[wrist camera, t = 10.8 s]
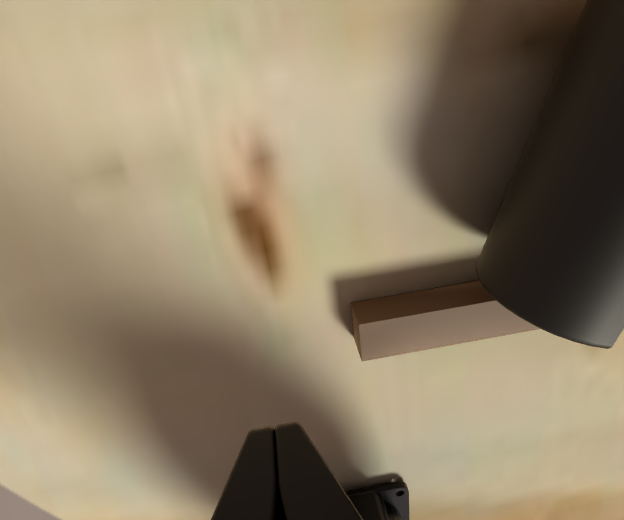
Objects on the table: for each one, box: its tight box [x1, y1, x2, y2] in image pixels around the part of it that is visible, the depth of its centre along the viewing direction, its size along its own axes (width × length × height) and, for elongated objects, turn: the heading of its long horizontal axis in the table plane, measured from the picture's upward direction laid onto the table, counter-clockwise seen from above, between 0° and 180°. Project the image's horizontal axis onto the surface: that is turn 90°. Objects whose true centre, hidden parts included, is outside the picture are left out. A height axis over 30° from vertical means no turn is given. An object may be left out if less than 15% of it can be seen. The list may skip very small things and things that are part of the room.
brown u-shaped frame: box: [351, 281, 541, 361], centre depth 17 cm, size 20×16×2 cm
